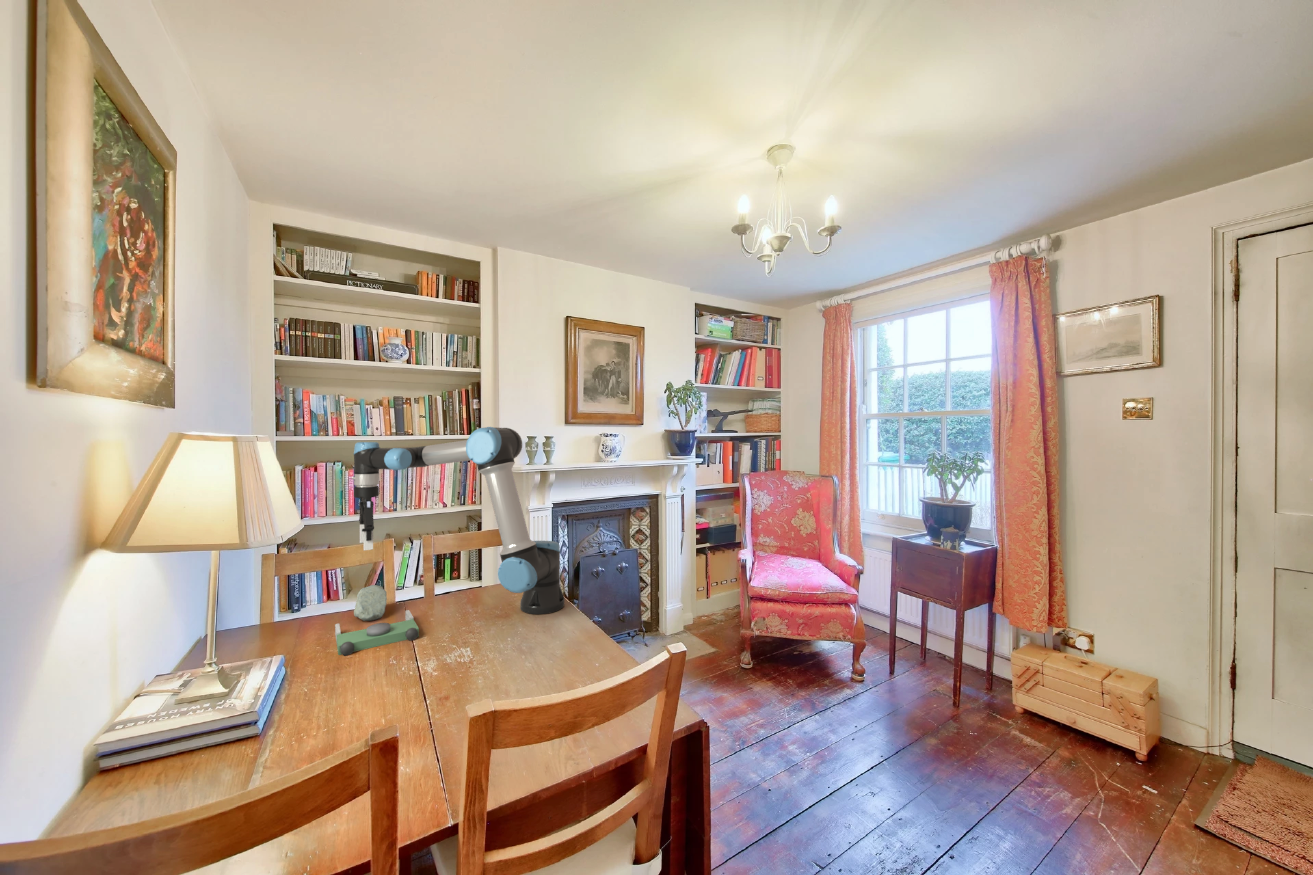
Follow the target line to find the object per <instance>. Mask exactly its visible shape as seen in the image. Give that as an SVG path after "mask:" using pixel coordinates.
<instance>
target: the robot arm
mask: <svg viewBox="0 0 1313 875" xmlns="http://www.w3.org/2000/svg"><path fill="white" fill-rule="evenodd" d="M353 449H354V451H353V469H354V471H353V474H354V476H352V477H351V479H352V480H354V481H353V485H354V487H353V497H354V498H356V499H359V503H358V504H359V519H358V521H359V544H362V543H363V551H371V550H374V530H375V526H374V525H375V524H374V523H375V522H374V502H373V500H372V498H378V497H379V495H380V486H379V484H380V470H388V471H389V470H391V471H392V470H393V471H401V470H402V471H404V470H407V469H411V468H425V467H429V466H437V465H445V464H446V465H447V464H452V463H459V462H467V461H471V462H473V463H474V464H476V468H477V470H478V473H480V474H482V475H483V476H484V478H485V481H486V485H487V489H488V493H489V498H490V501H491V502H490V503H491V504H492V509H493V512H494V516H495V521H496V524H497V528H498V532H499V536H500V539H501V543H502V549H501V550H500V553H499V555H500V556H499V557H500V560H501V563H500V565H499V568H498V569H497V577H498V580H499V583H500V584H501V586H502V587H503V588H504V589H505V590H508V591H509V592H510V593H515V594H522V596H521V599H520V603H519V604H520V609H519V610H521V611H522V612H523V613H526V614H531V615H545V614H551V613H555V612H557V611H560V610H562V609H563V608H564V607H565V597H564V593H563V590H562V587H561V584H560V582H561V580H560V576H561V575H560V570H561V569H560V567H561V566H560V564H561V561H560V560H561V559H560V558H561V551H560V550H561V549H560V544H559V542H557V541H552V540H531V539H530V534H529V532H528V528H527V524H526V520H525V515H524V512H523V509H522V503H521V501H520V500H521V499H520V496H519V494H518V493H519V492H518V488H517V485H516V482H515V477H514V473H513V470H512V469H513V468H514V465H515V463H516V462H515V459H516V458H517V457H518V456H520V453H521V452H522V450H523V439H522V437H521V435H520V434H519V433H518V431H516V430H514V429H512V428H509V427H493V426H486V427H479V428H477V429H475V430H473V431H472V432H471V434H469V436H468V438H467V439H465V440H457V441H453V442H452V441H451V442H446V443H445V442H442V443H436V444H431V445H424V446H423V445H422V446H414V447H413V446H412V447H380V443H379V442H377V441H376V442H375V441H357V442H355V444H354V448H353ZM563 606H564V607H563ZM561 608H562V609H561Z"/></svg>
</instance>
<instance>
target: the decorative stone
mask: <svg viewBox="0 0 1313 875" xmlns="http://www.w3.org/2000/svg"><path fill="white" fill-rule="evenodd" d="M356 597H357V598H356V602H355V606H354V610H353V616H354V617H355V618H358V619H360V620H362V621H363V622H366V621H368V622H369V621H371V622H372V621H376V620H379V619H381V618H382V617H383V616H384V614H385V612H386V606H387V600H388V599H387V591H386V589H384V587H383V586H381V585H378V584H371V585H369V586H366V587H362V588H361V589H360V590H359V591H358V593H357V595H356Z"/></svg>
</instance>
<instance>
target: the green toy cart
mask: <svg viewBox="0 0 1313 875" xmlns="http://www.w3.org/2000/svg"><path fill="white" fill-rule="evenodd" d="M340 626H341V624H340V623H336V624H334V628H335V630H334V635H335V642H336V649H337V655H338V656H339V655H343V656H350V655H351V654H353V653H354V652H355V653H356V652H357V651H363V650H367V649H371V648H376V647H380V646H386V645H388V644H389V645H390V644H395V643H397V642H402V641H406V640H408V641H409V642H410V641H411V642H412V641H415V640H416V639H417V638H419V637H420V629H419V626H418V625H417V623H416V621H415V620H414V616H413V614H412V613H411V611H410V610H409V609H408V610H407V609H406V610H405V620H403V621H398V622H393V623H388V622H379V623H374V624H371V625H370V626H367V627H366V628H363V629H360V630H353V631H350V632H343V633H341V627H340Z"/></svg>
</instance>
